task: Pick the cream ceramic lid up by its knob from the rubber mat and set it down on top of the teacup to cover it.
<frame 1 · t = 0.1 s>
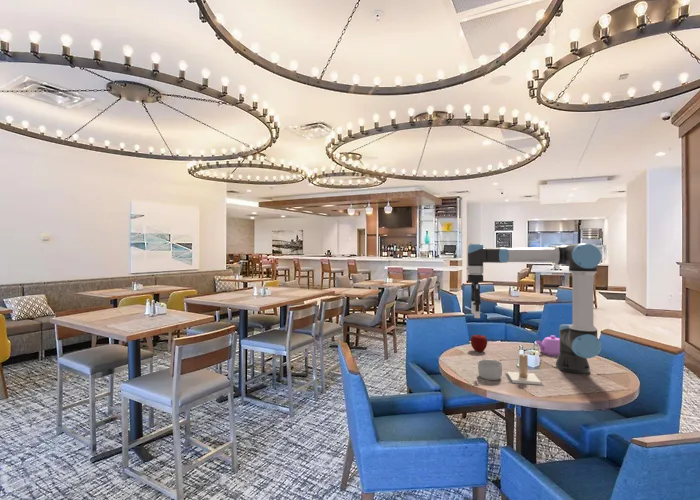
hand: (475, 315, 189), 28 cm above the table, fingers open, 13 cm apart
lid: (523, 379, 173), point 1 cm above the table, touching mat
apple: (478, 351, 226), on the table
mat: (523, 381, 173), on the table
teacup: (489, 378, 178), on the table
teapot: (551, 353, 222), on the table
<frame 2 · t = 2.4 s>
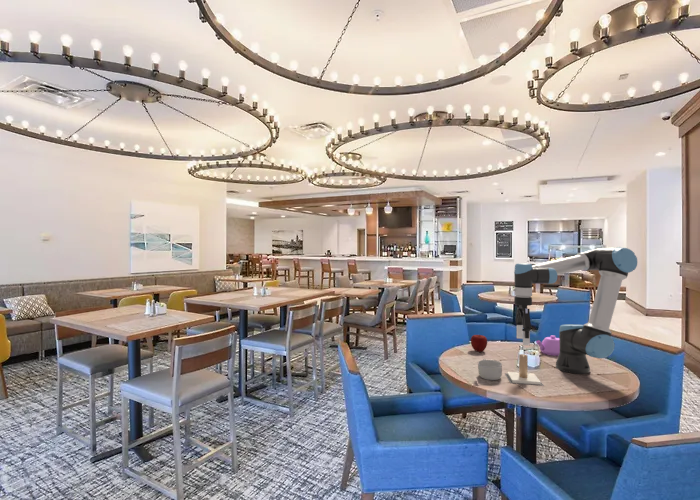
hand: (522, 341, 174), 18 cm above the table, fingers open, 13 cm apart
nothing on the table moved.
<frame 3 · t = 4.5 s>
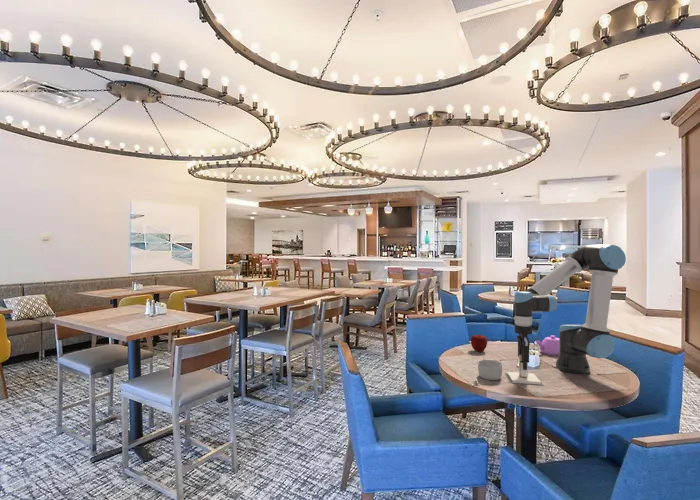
hand: (523, 374, 173), 3 cm above the table, fingers closed on lid, 3 cm apart
lid: (523, 379, 173), point 1 cm above the table, touching gripper, mat
everything else where it was.
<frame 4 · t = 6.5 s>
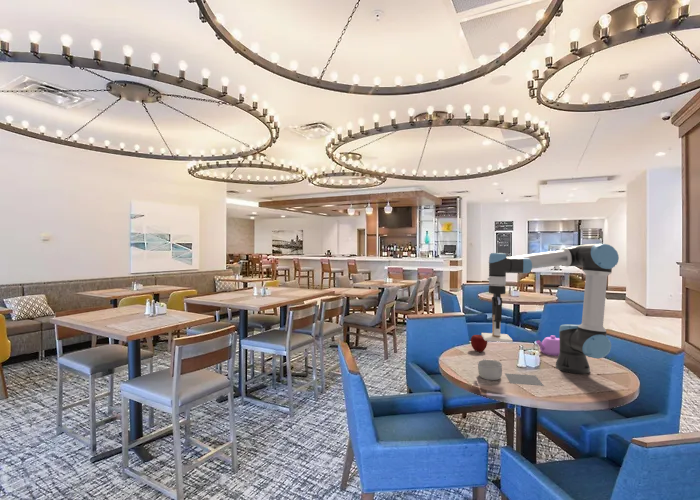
hand: (496, 334, 177), 21 cm above the table, fingers closed on lid, 3 cm apart
lid: (496, 338, 177), point 19 cm above the table, touching gripper
everything else where it was.
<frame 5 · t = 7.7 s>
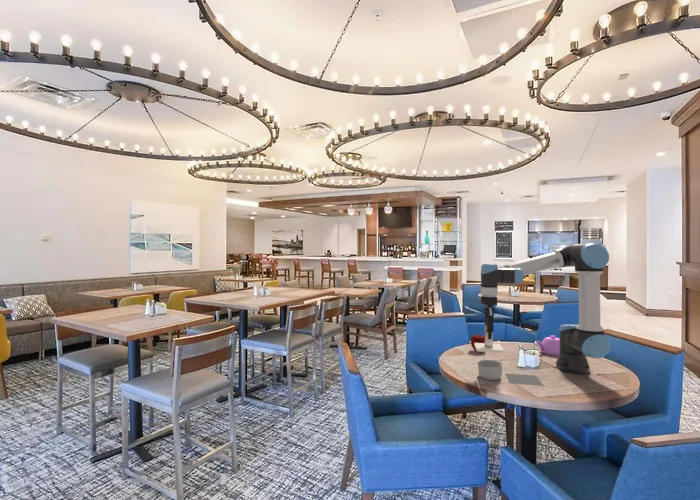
hand: (488, 344, 178), 16 cm above the table, fingers closed on lid, 3 cm apart
lid: (488, 348, 178), point 14 cm above the table, touching gripper
everything else where it was.
when the fingers open (12 cm above the table, at t = 8.7 s): lid drops 2 cm, resting on teacup.
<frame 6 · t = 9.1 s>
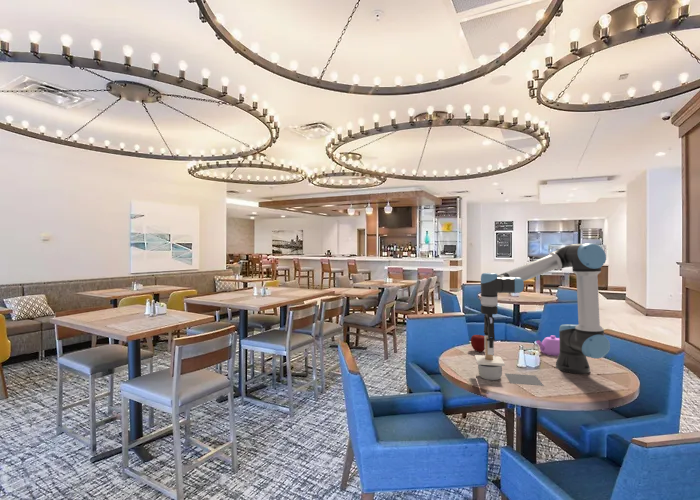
hand: (489, 351, 178), 13 cm above the table, fingers open, 10 cm apart
lid: (489, 361, 178), point 8 cm above the table, touching teacup
teacup: (489, 378, 178), on the table, touching lid
everything else where it was.
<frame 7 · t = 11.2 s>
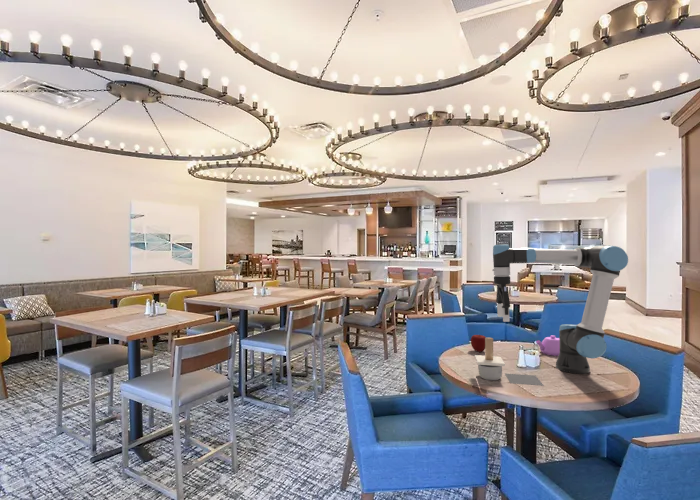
hand: (503, 319, 182), 28 cm above the table, fingers open, 13 cm apart
nothing on the table moved.
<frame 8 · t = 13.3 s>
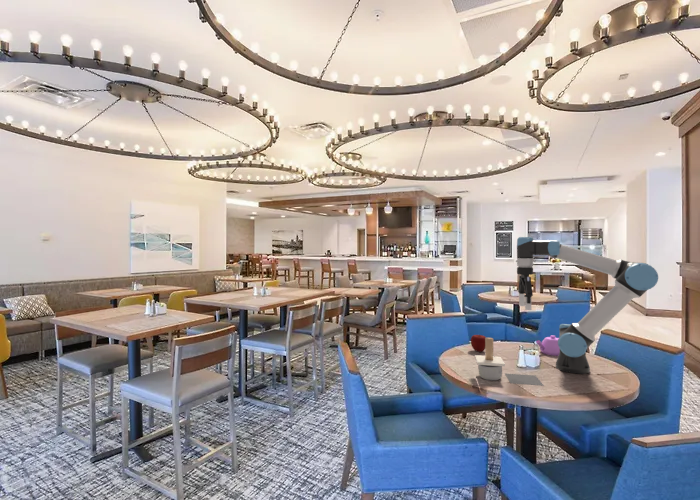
hand: (525, 308, 191), 32 cm above the table, fingers open, 13 cm apart
nothing on the table moved.
at the end: lid inside the target area in the teacup (0.1 cm from its centre), point 8.2 cm above the teacup's base; lid point 7.9 cm above the table; lid tilted 0° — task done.
